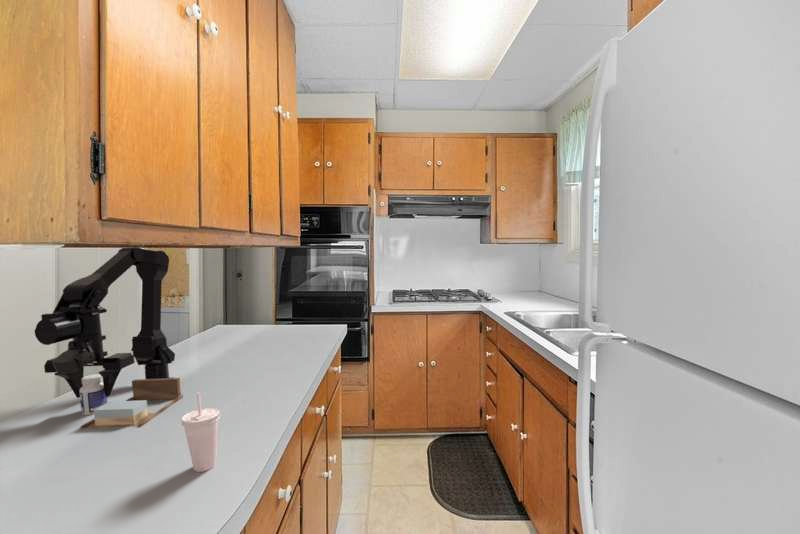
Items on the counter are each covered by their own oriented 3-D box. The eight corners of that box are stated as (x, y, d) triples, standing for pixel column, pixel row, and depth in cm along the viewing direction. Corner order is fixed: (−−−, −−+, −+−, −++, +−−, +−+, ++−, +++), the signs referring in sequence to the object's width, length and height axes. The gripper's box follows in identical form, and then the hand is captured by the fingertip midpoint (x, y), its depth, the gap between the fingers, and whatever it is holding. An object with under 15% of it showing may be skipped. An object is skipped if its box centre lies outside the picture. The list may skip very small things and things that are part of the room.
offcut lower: (111, 416, 101) (110, 408, 101) (148, 415, 101) (147, 407, 101) (95, 425, 96) (94, 417, 96) (134, 424, 96) (133, 416, 96)
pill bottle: (112, 407, 108) (109, 372, 107) (98, 415, 103) (95, 379, 102) (91, 408, 108) (88, 373, 107) (76, 416, 103) (72, 380, 102)
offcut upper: (110, 408, 101) (109, 401, 101) (147, 407, 101) (146, 400, 100) (94, 417, 96) (93, 410, 96) (133, 416, 96) (132, 408, 95)
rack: (133, 401, 113) (131, 379, 112) (184, 400, 112) (182, 377, 112) (81, 432, 95) (78, 406, 95) (141, 430, 94) (139, 404, 94)
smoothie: (181, 478, 74) (174, 400, 73) (189, 460, 80) (183, 388, 79) (221, 471, 76) (215, 395, 75) (225, 454, 82) (220, 383, 81)
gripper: (19, 344, 96) (27, 411, 97) (100, 340, 96) (107, 408, 97) (60, 332, 107) (66, 393, 108) (132, 330, 107) (138, 390, 108)
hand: (93, 396), depth 105 cm, fingers open, 7 cm apart
